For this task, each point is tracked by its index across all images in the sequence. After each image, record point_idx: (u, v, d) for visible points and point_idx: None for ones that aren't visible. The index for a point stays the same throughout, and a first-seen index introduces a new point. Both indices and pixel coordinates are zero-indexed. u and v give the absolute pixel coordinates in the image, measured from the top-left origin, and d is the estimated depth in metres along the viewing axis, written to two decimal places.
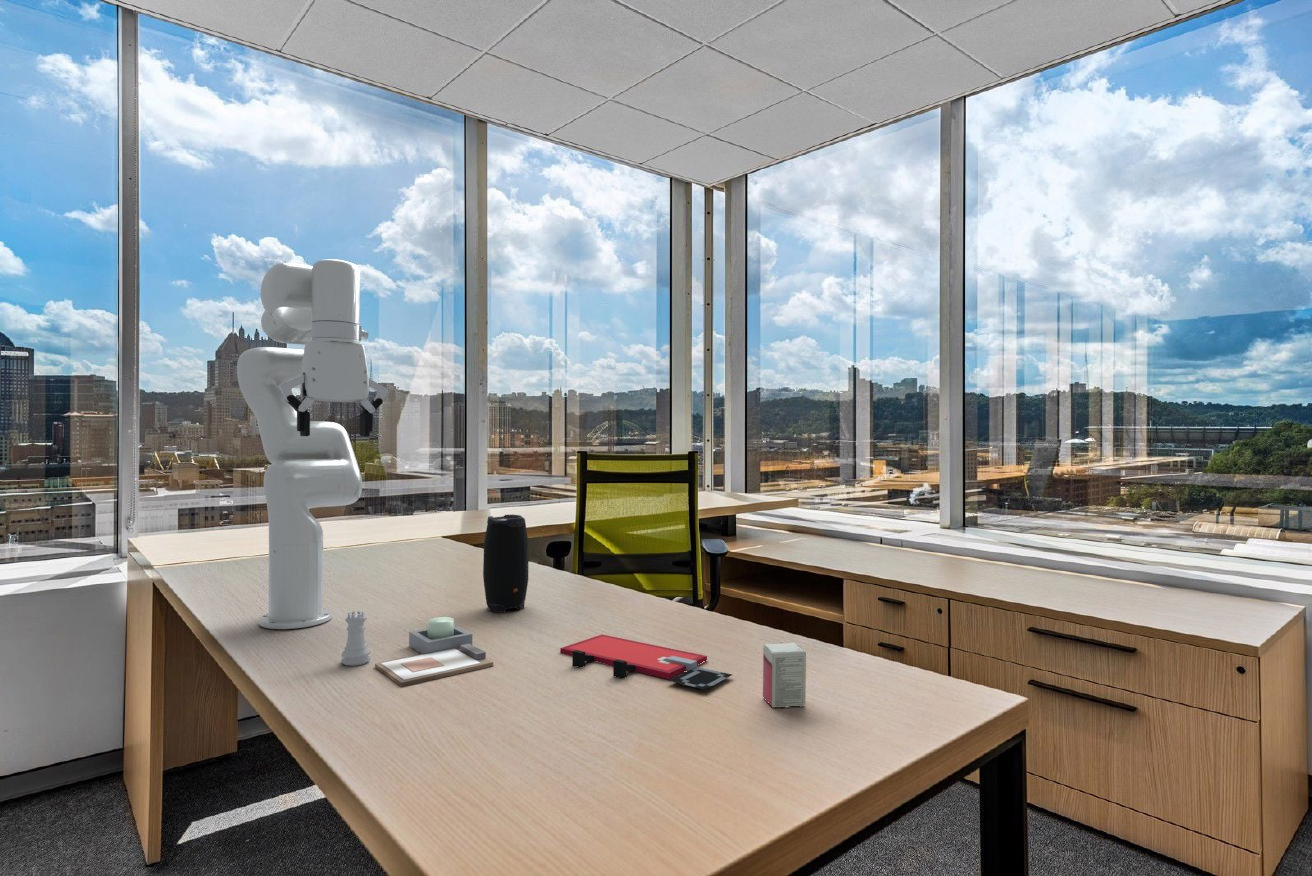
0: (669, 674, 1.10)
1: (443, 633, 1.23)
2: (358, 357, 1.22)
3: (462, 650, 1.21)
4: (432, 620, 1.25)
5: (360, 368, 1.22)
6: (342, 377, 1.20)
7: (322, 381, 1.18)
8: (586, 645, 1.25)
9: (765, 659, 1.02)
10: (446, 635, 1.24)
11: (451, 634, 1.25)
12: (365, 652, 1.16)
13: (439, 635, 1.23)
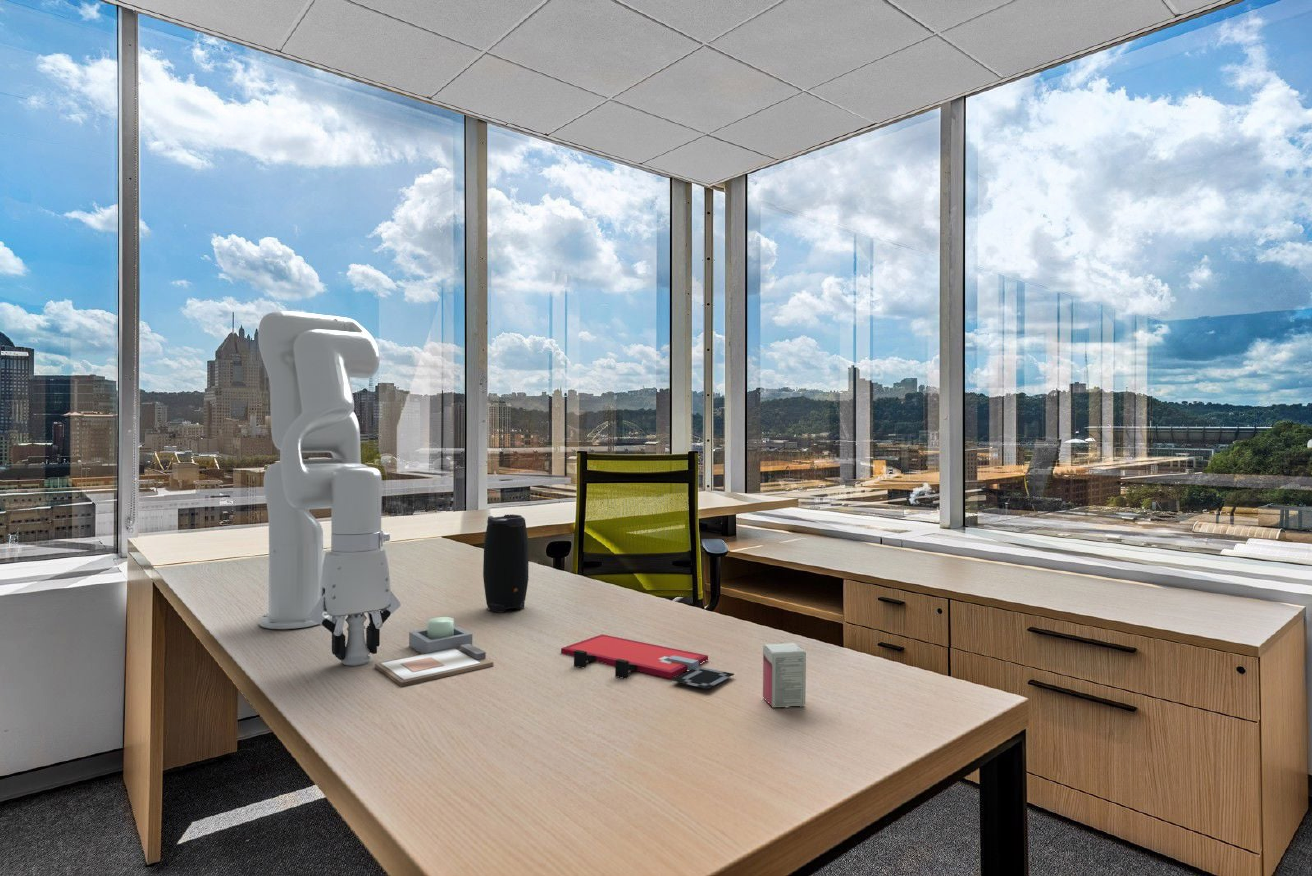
0: (671, 674, 1.11)
1: (443, 633, 1.23)
2: (380, 565, 1.17)
3: (462, 650, 1.21)
4: (432, 620, 1.25)
5: (381, 576, 1.17)
6: (363, 589, 1.15)
7: (343, 597, 1.13)
8: (587, 645, 1.25)
9: (765, 659, 1.02)
10: (446, 635, 1.24)
11: (451, 634, 1.25)
12: (365, 651, 1.16)
13: (439, 635, 1.23)
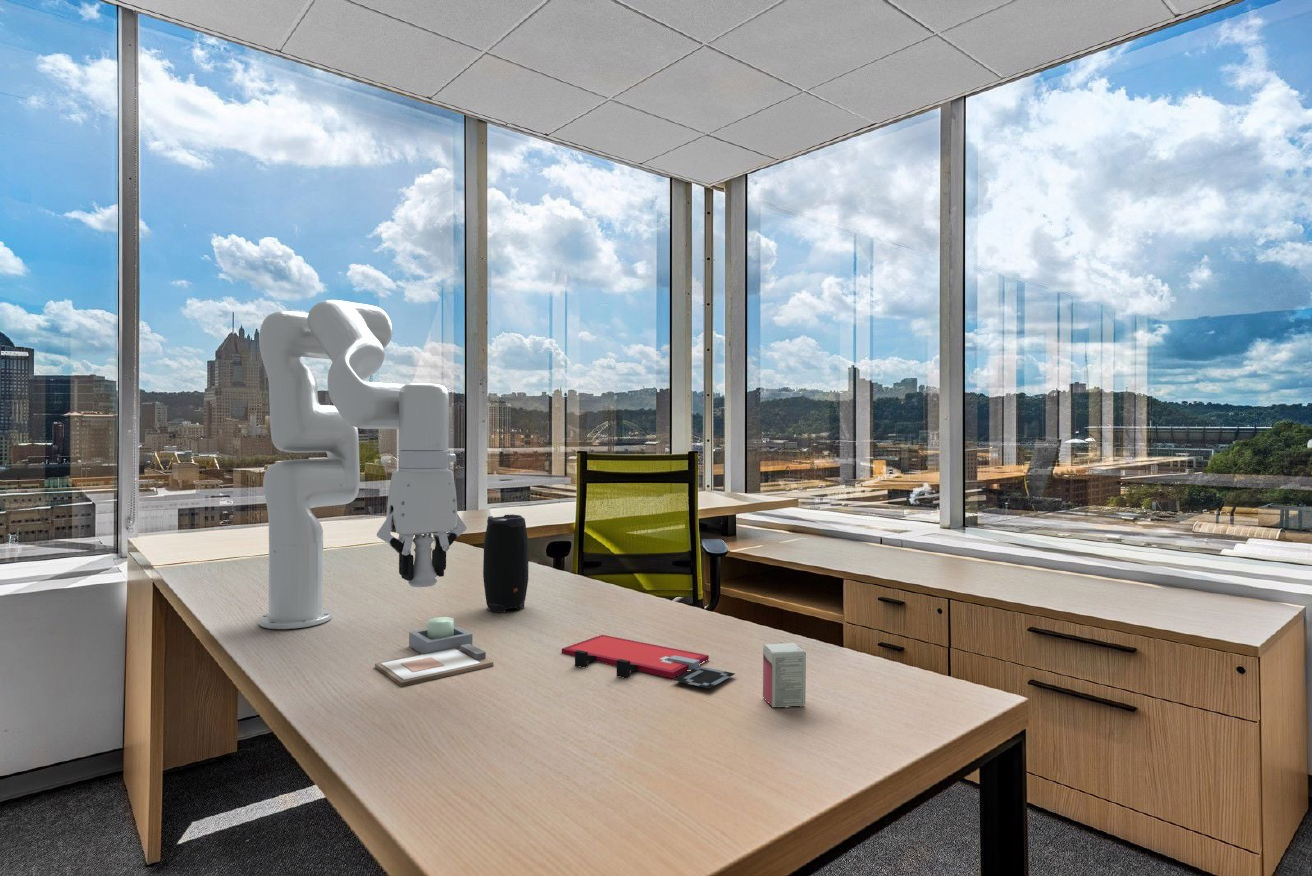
0: (672, 673, 1.11)
1: (443, 633, 1.23)
2: (447, 485, 1.14)
3: (462, 650, 1.21)
4: (432, 620, 1.25)
5: (449, 497, 1.14)
6: (431, 509, 1.12)
7: (411, 515, 1.10)
8: (588, 646, 1.25)
9: (765, 659, 1.02)
10: (446, 635, 1.24)
11: (451, 634, 1.25)
12: (433, 573, 1.13)
13: (439, 635, 1.23)
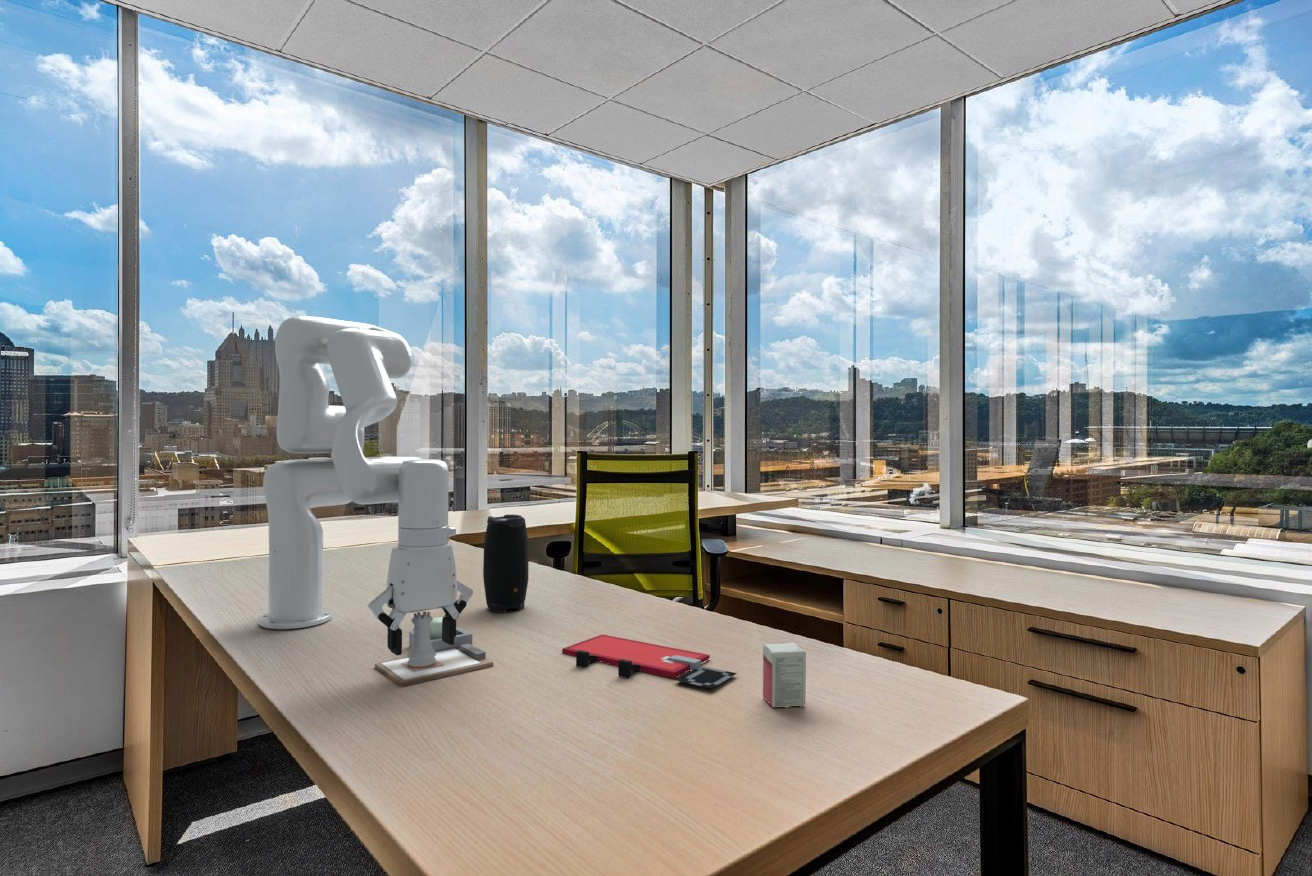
0: (674, 673, 1.11)
1: None
2: (447, 561, 1.14)
3: (462, 650, 1.21)
4: (432, 620, 1.25)
5: (449, 572, 1.14)
6: (431, 585, 1.12)
7: (411, 593, 1.10)
8: (588, 646, 1.25)
9: (765, 659, 1.02)
10: None
11: None
12: (432, 653, 1.13)
13: (439, 635, 1.23)
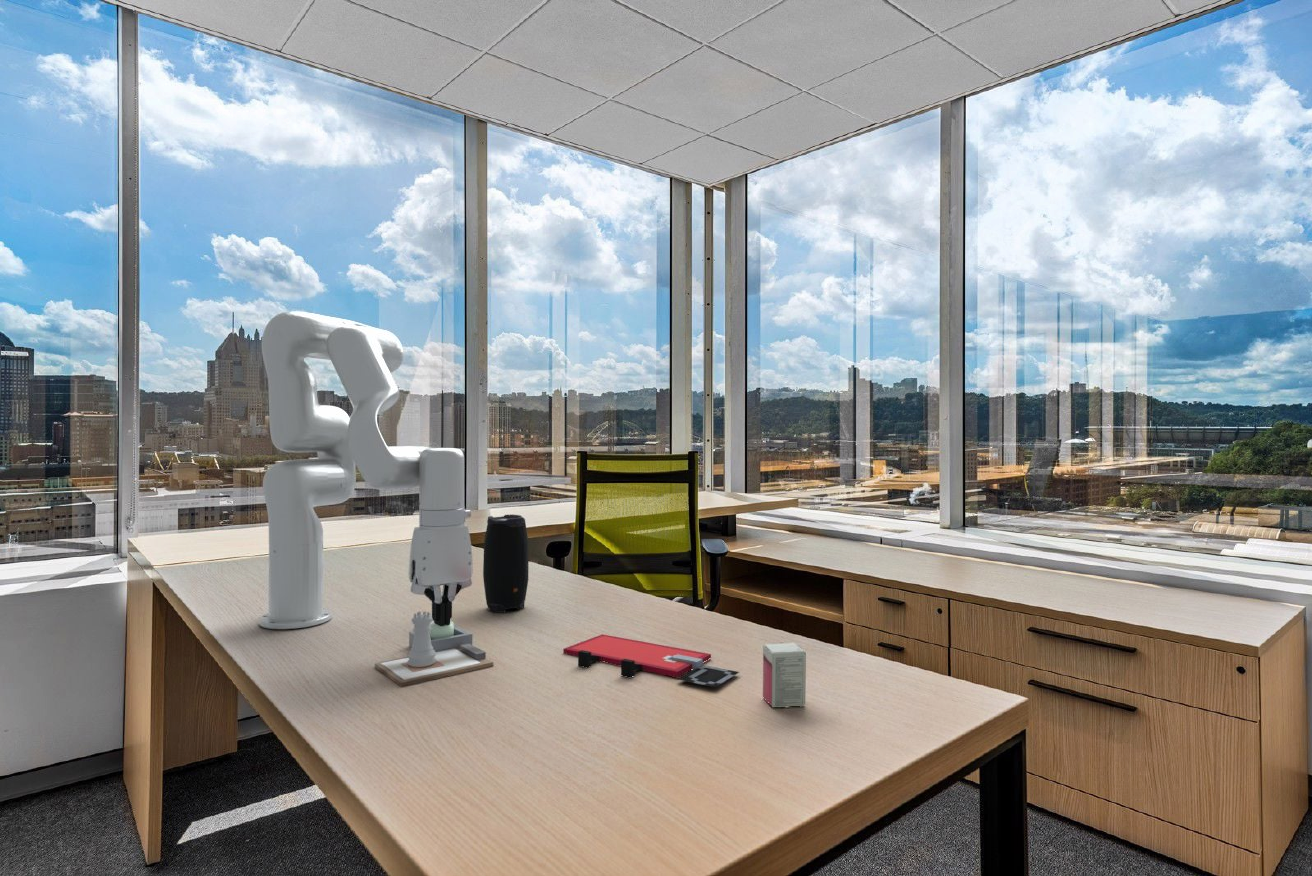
0: (677, 672, 1.11)
1: (443, 636, 1.23)
2: (464, 539, 1.25)
3: (462, 650, 1.21)
4: (432, 624, 1.25)
5: (465, 550, 1.25)
6: (449, 562, 1.23)
7: (432, 569, 1.22)
8: (589, 646, 1.25)
9: (765, 659, 1.02)
10: None
11: None
12: (432, 653, 1.13)
13: (439, 638, 1.23)
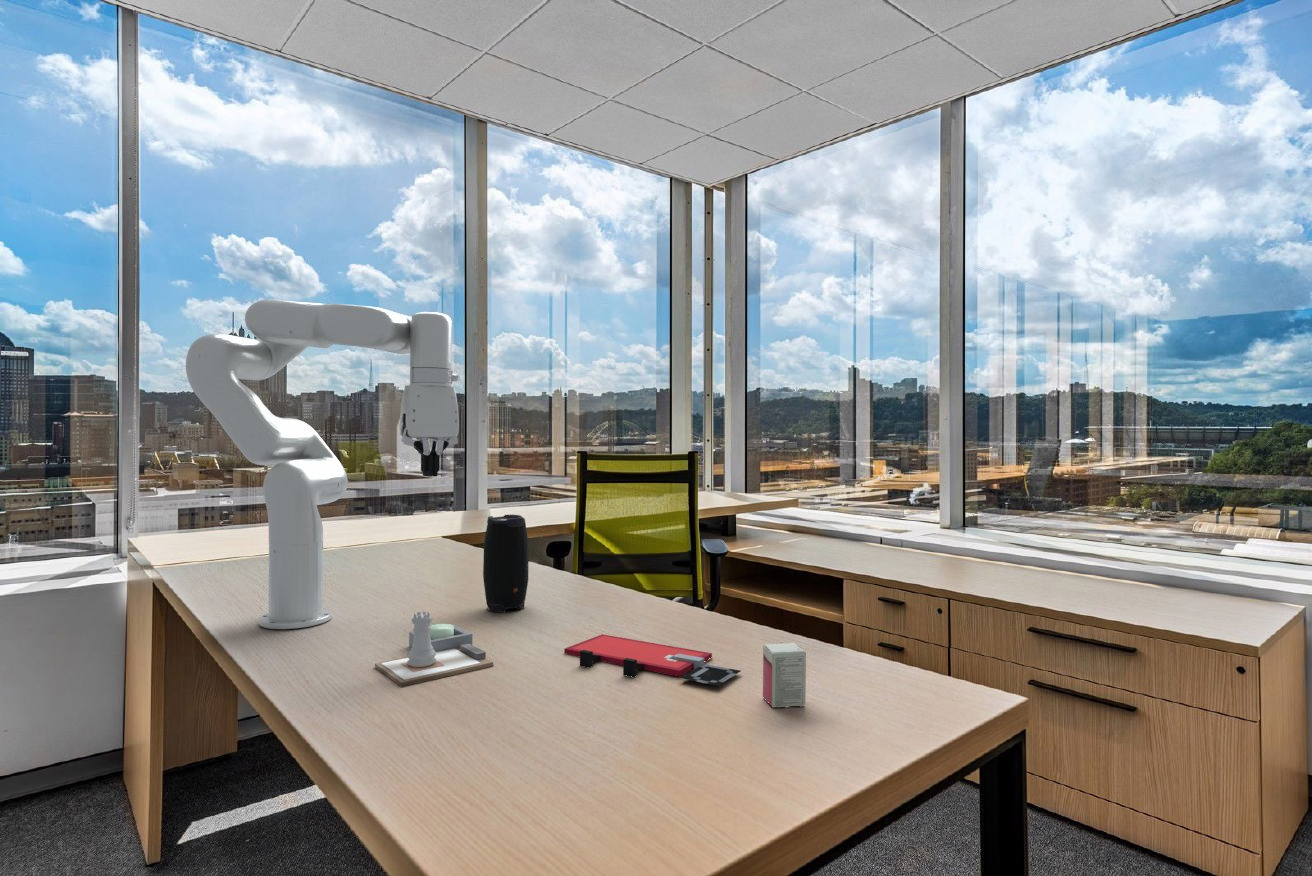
0: (679, 671, 1.11)
1: None
2: (451, 399, 1.36)
3: (462, 650, 1.21)
4: (432, 627, 1.25)
5: (452, 408, 1.36)
6: (437, 417, 1.34)
7: (421, 421, 1.32)
8: (590, 645, 1.25)
9: (765, 659, 1.02)
10: None
11: None
12: (432, 653, 1.13)
13: None
